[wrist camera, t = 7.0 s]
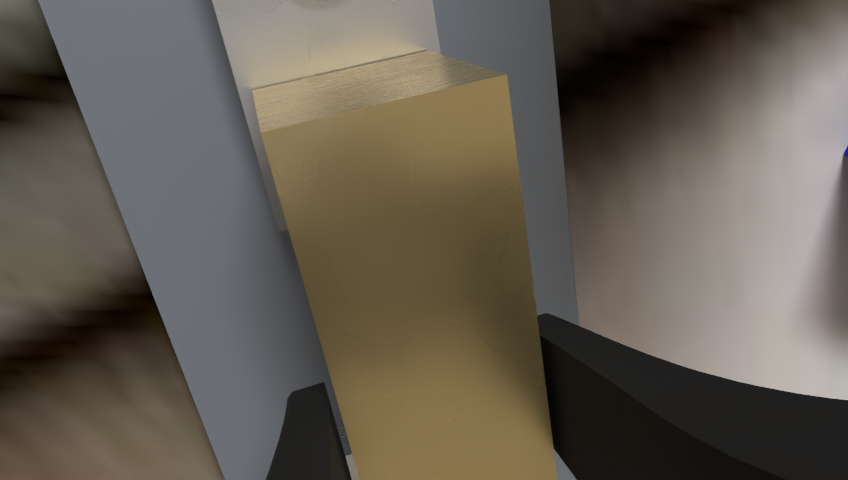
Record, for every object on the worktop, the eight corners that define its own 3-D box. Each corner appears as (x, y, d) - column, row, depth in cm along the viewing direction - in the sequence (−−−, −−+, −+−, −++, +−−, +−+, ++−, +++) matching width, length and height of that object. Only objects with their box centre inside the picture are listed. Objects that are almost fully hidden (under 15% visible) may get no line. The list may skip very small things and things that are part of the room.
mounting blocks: (381, 586, 19) (392, 628, 18) (188, -85, 12) (184, -94, 11) (507, 539, 20) (526, 576, 19) (396, -120, 13) (414, -131, 12)
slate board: (287, 617, 20) (290, 647, 19) (9, -111, 12) (-9, -120, 11) (581, 506, 22) (597, 529, 21) (511, -188, 14) (531, -200, 13)
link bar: (381, 548, 17) (422, 698, 13) (251, 89, 12) (260, 132, 9) (506, 503, 18) (576, 635, 14) (429, 50, 13) (506, 74, 9)
